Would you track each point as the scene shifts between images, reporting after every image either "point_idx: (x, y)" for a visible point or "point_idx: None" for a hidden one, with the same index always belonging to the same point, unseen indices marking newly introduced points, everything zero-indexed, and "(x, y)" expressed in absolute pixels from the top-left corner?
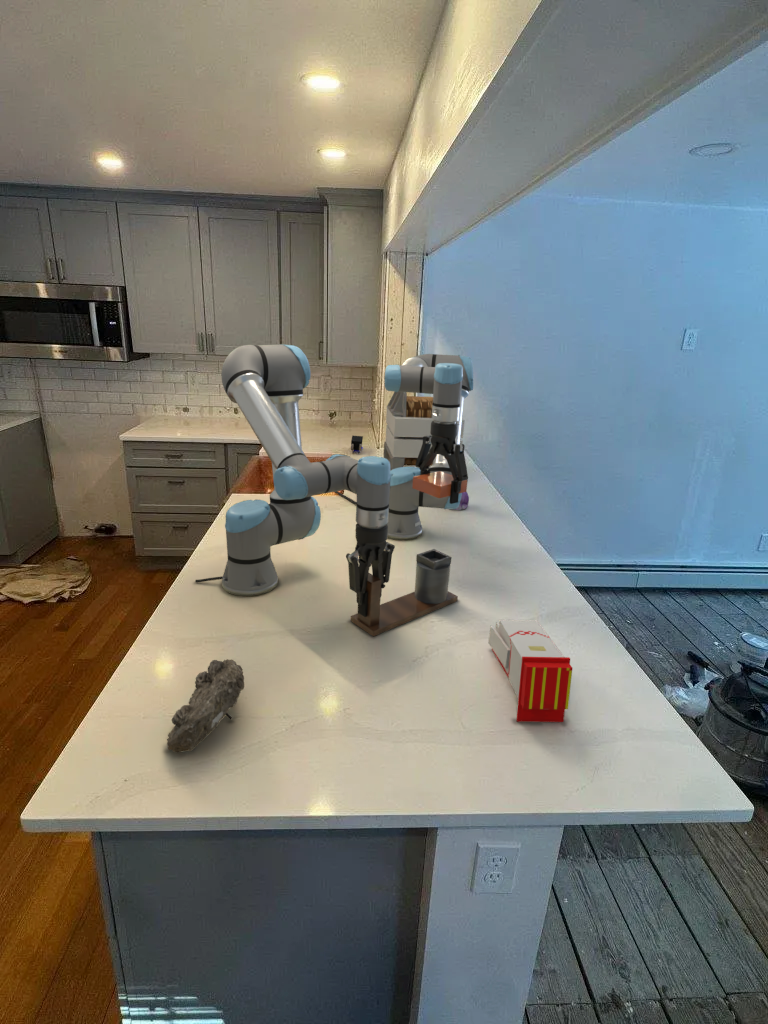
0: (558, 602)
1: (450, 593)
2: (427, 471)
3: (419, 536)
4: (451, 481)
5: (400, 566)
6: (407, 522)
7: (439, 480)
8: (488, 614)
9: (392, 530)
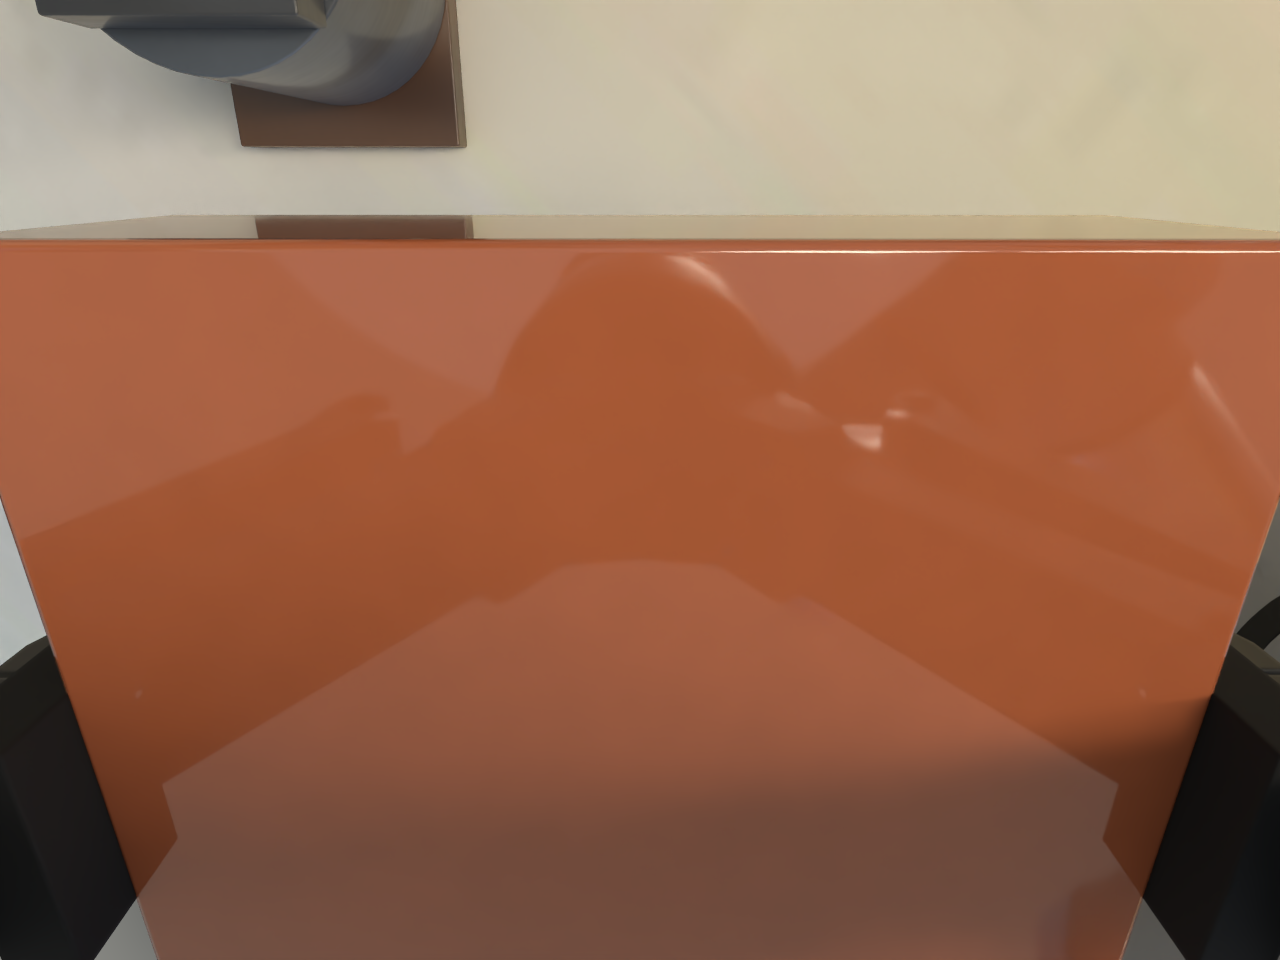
0: (14, 600)
1: (294, 132)
2: (1216, 876)
3: None
4: (8, 746)
5: (849, 198)
6: None
7: (486, 655)
8: (38, 179)
9: None
